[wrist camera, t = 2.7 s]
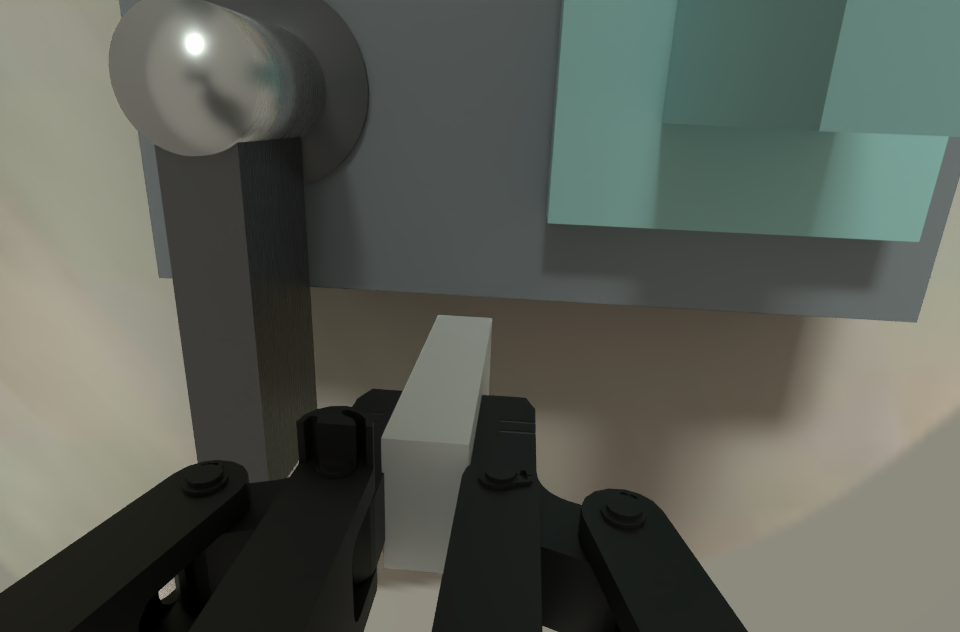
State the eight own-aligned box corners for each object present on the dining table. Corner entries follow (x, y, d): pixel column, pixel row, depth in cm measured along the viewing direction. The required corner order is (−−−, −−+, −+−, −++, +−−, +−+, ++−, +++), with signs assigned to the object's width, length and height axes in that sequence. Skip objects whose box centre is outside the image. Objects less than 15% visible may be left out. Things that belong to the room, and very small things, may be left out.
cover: (575, -183, 13) (668, -792, 4) (991, -180, 13) (2072, -873, 4) (546, 213, 16) (566, 333, 7) (883, 230, 16) (1355, 383, 7)
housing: (209, -191, 19) (66, -328, 13) (921, -186, 18) (1118, -338, 12) (248, 238, 23) (155, 279, 18) (817, 269, 22) (921, 324, 16)
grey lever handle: (209, 23, 15) (97, -10, 11) (323, 26, 15) (249, -6, 11) (249, 418, 19) (175, 499, 15) (341, 425, 19) (290, 508, 15)
